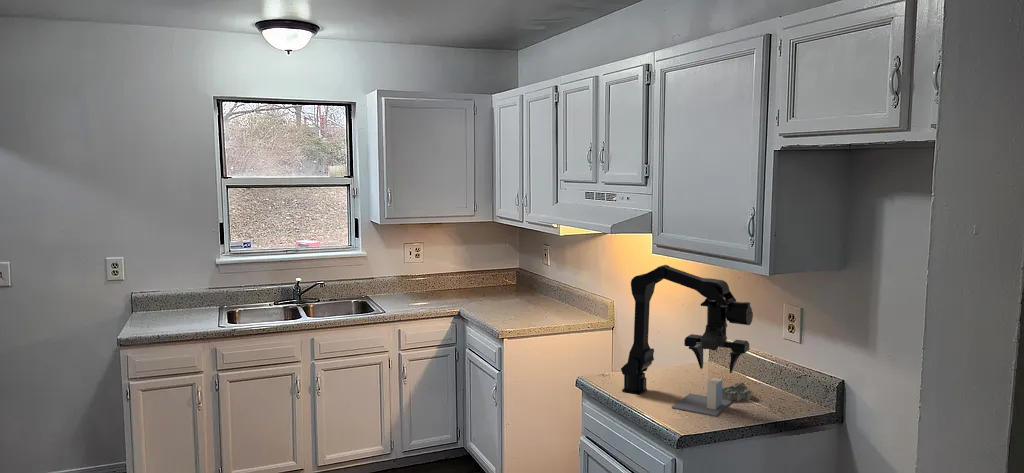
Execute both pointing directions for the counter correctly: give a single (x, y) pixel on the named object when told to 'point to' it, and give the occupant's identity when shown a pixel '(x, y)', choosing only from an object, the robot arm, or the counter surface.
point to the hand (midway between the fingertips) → (716, 370)
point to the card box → (714, 393)
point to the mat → (699, 405)
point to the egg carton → (736, 392)
